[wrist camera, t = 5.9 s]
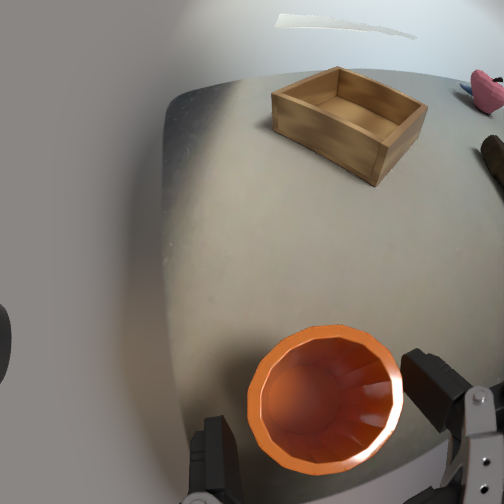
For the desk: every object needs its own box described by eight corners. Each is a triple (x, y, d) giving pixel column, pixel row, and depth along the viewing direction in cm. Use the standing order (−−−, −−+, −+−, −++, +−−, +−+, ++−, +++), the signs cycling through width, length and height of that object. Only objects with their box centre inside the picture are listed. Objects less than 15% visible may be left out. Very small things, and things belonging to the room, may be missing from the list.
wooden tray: (272, 130, 30) (270, 93, 25) (334, 95, 34) (337, 66, 29) (375, 187, 24) (388, 147, 20) (418, 137, 28) (428, 106, 24)
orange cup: (242, 401, 16) (213, 404, 8) (302, 343, 18) (323, 295, 10) (303, 454, 14) (328, 500, 6) (361, 393, 15) (429, 383, 8)
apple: (481, 101, 37) (492, 68, 28) (504, 124, 32) (519, 89, 24) (456, 94, 37) (467, 57, 28) (481, 118, 32) (496, 78, 24)
